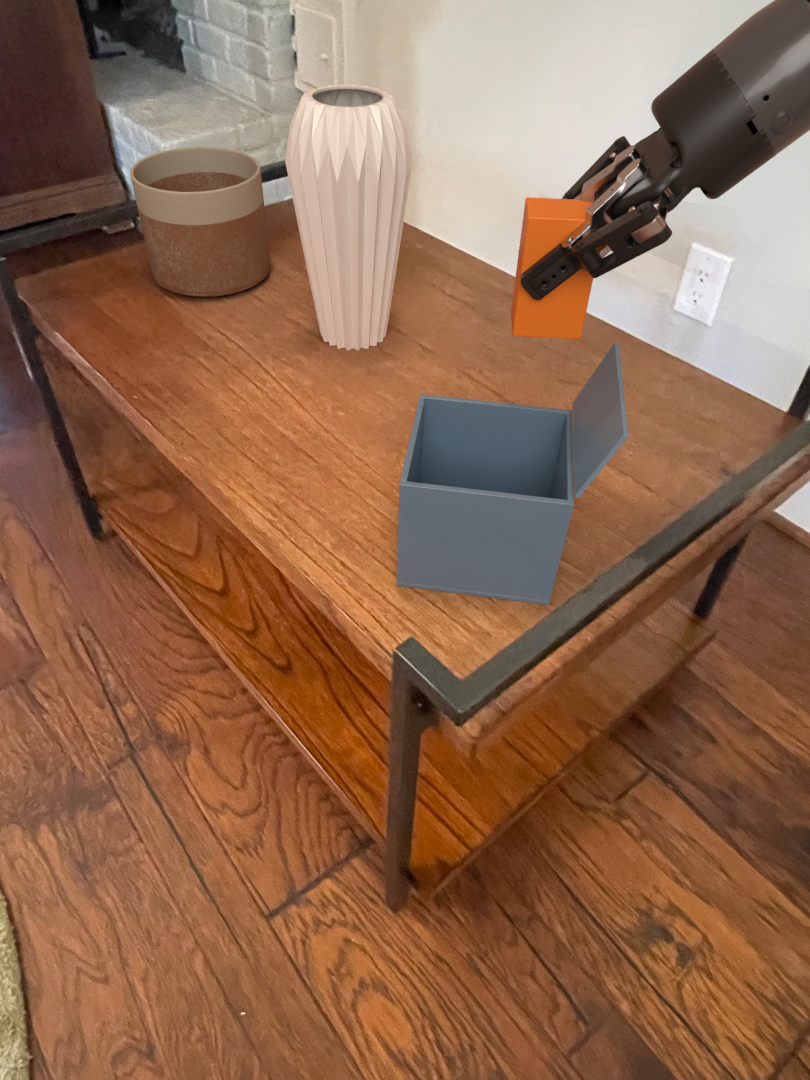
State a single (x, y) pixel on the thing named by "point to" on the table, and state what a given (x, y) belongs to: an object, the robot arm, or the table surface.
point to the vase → (350, 205)
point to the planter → (203, 219)
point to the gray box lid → (598, 420)
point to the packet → (569, 300)
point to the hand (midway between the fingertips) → (527, 275)
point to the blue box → (485, 498)
